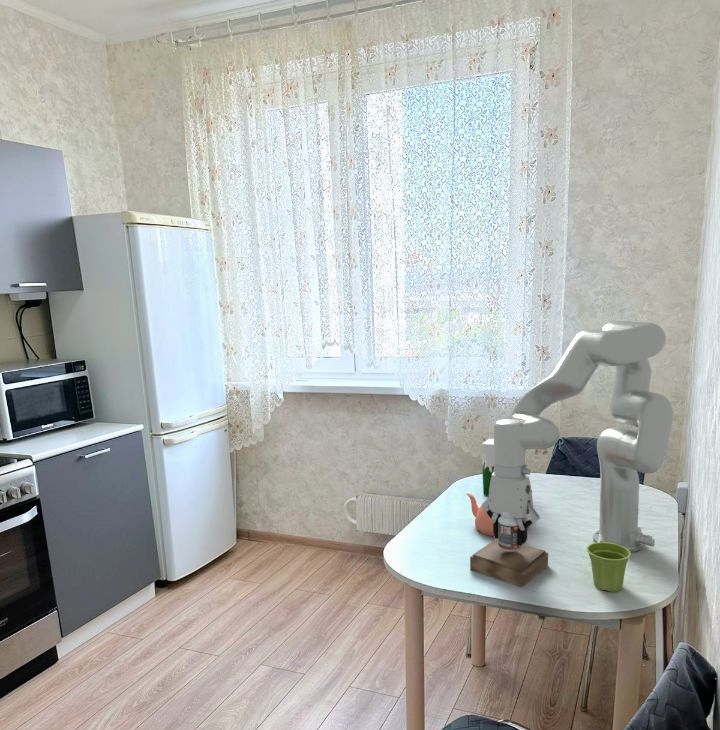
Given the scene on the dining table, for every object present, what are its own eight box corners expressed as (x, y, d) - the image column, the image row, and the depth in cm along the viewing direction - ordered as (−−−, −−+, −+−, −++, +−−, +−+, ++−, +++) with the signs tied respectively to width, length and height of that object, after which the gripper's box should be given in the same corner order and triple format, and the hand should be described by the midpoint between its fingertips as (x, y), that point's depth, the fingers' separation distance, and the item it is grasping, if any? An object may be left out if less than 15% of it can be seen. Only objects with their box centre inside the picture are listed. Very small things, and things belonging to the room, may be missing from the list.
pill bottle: (517, 554, 142) (517, 515, 141) (495, 549, 145) (494, 511, 144) (524, 545, 147) (524, 507, 146) (502, 540, 150) (502, 503, 149)
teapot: (512, 544, 160) (512, 510, 159) (456, 527, 172) (455, 496, 171) (532, 529, 169) (532, 498, 168) (477, 515, 181) (477, 485, 180)
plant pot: (577, 580, 140) (578, 545, 138) (610, 573, 142) (610, 539, 141) (605, 599, 131) (605, 562, 130) (639, 591, 134) (640, 555, 132)
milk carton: (505, 499, 194) (505, 440, 191) (479, 495, 198) (479, 437, 196) (513, 491, 201) (513, 434, 199) (488, 487, 206) (487, 431, 203)
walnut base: (548, 565, 147) (548, 550, 147) (522, 587, 137) (522, 571, 136) (498, 550, 157) (498, 536, 156) (470, 569, 146) (470, 554, 146)
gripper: (549, 472, 141) (549, 544, 143) (486, 460, 152) (487, 526, 154) (535, 480, 135) (535, 555, 137) (471, 467, 147) (472, 536, 149)
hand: (509, 539), depth 146 cm, fingers closed on pill bottle, 5 cm apart
